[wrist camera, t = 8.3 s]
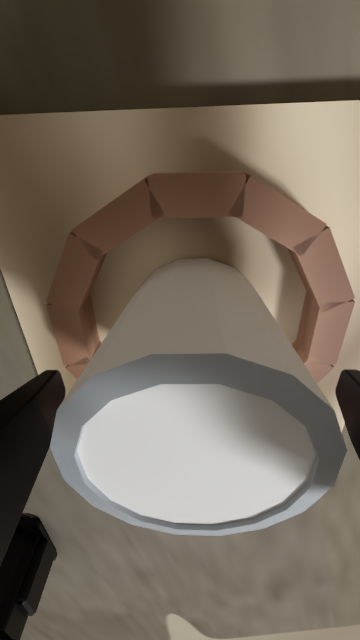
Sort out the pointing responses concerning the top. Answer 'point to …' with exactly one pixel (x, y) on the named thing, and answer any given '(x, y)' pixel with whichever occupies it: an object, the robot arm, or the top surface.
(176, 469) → the white cylinder
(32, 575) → the robot arm
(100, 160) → the collar board
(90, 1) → the top surface
